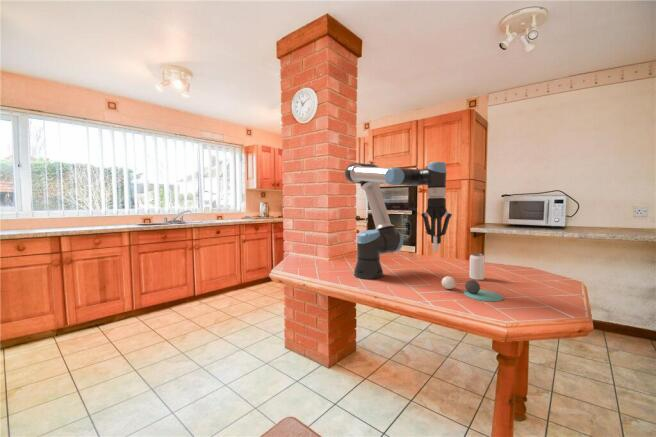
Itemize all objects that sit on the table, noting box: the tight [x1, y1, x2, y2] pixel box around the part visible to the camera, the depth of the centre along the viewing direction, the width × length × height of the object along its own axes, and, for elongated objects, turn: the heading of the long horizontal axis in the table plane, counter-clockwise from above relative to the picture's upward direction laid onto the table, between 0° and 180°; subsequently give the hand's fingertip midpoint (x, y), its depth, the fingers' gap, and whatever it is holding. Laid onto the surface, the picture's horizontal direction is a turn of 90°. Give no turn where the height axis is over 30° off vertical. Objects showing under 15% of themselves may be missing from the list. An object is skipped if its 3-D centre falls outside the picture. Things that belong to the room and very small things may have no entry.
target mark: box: [463, 289, 504, 303], centre depth 111 cm, size 14×14×1 cm
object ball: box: [464, 279, 481, 294], centre depth 113 cm, size 6×6×6 cm
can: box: [469, 253, 486, 281], centre depth 134 cm, size 6×6×12 cm
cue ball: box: [441, 275, 456, 290], centre depth 119 cm, size 6×6×6 cm
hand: (435, 250), depth 122 cm, fingers closed
